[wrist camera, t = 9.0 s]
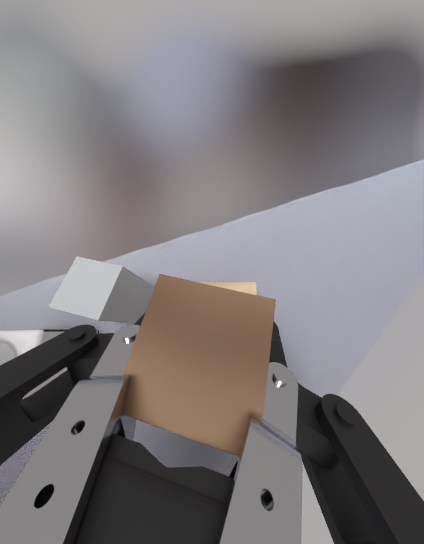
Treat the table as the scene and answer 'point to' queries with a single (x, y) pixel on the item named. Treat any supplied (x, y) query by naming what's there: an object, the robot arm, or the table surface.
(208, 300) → the walnut block
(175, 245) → the table surface
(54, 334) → the medicine bottle
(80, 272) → the grey block
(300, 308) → the table surface
